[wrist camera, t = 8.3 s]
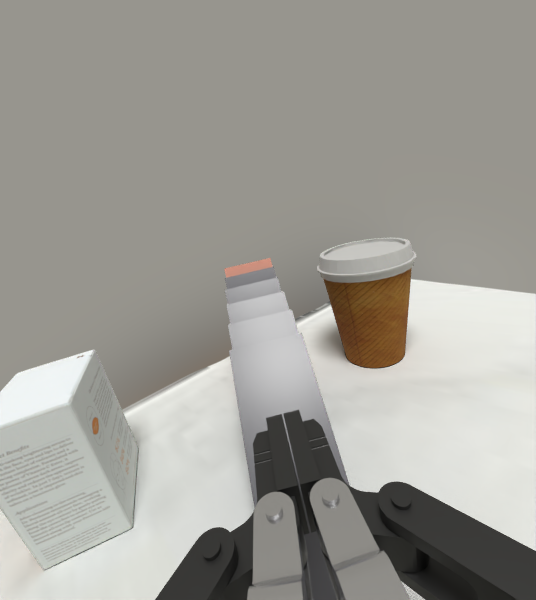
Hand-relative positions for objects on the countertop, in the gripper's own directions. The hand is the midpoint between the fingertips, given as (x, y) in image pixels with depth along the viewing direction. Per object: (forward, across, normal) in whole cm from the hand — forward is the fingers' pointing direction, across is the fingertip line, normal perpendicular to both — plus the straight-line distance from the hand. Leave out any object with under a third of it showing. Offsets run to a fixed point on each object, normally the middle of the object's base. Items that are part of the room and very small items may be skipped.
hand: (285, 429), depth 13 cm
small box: (+8, +15, +9) cm, 19 cm away
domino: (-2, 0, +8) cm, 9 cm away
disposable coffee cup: (+18, -12, +9) cm, 24 cm away
